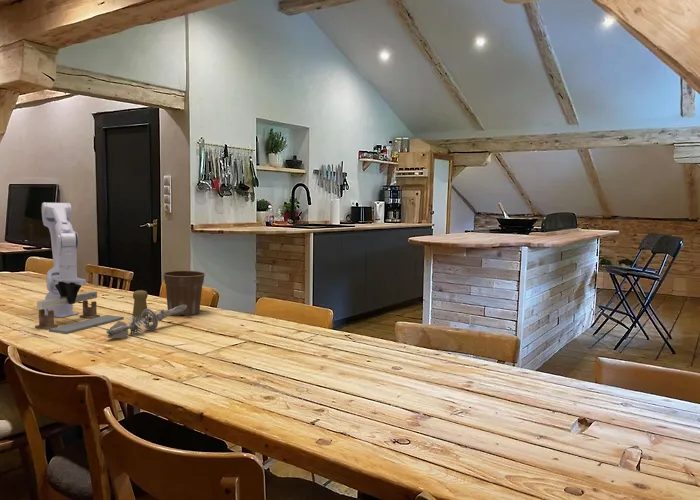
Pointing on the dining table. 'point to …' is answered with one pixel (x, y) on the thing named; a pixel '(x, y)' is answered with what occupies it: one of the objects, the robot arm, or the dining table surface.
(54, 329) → the long grey plate
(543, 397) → the dining table surface
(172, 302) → the plant pot
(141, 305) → the cork
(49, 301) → the steel rail
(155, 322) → the spaceship
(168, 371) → the dining table surface
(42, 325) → the cradle rack
